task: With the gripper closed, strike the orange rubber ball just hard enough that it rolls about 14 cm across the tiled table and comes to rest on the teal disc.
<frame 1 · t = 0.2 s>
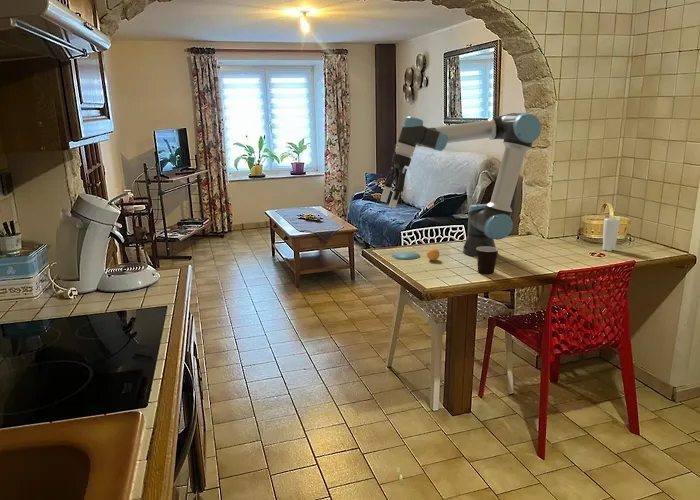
hand: (387, 204, 219), 28 cm above the counter, tool tilted 20°, fingers open, 13 cm apart
white tall block: (608, 250, 248), on the counter
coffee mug: (487, 271, 219), on the counter
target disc: (405, 255, 244), on the counter
ball: (433, 254, 236), on the counter
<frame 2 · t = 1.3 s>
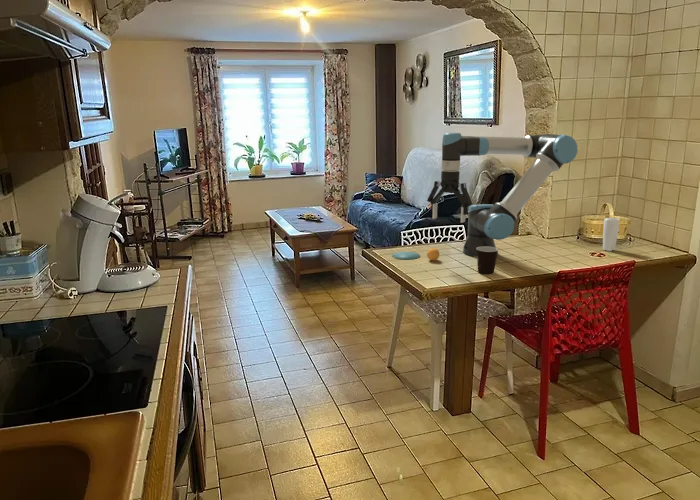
hand: (448, 220, 225), 19 cm above the counter, tool pointing down, fingers open, 13 cm apart
nothing on the counter moved.
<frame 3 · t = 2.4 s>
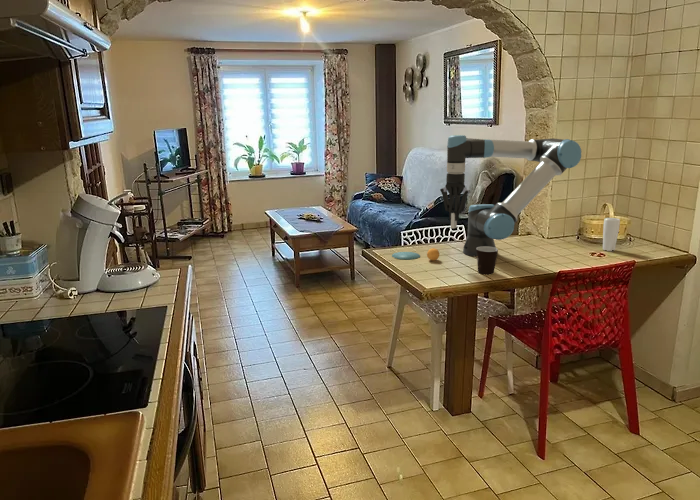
hand: (453, 227, 227), 16 cm above the counter, tool pointing down, fingers closed
nothing on the counter moved.
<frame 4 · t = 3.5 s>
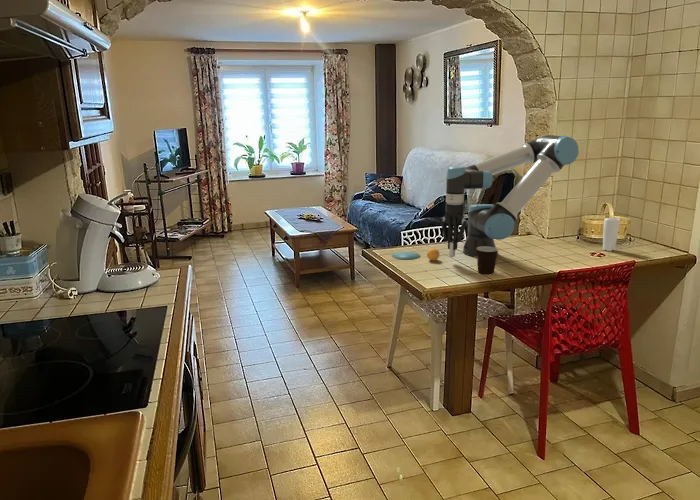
hand: (452, 256, 230), 3 cm above the counter, tool pointing down, fingers closed
nothing on the counter moved.
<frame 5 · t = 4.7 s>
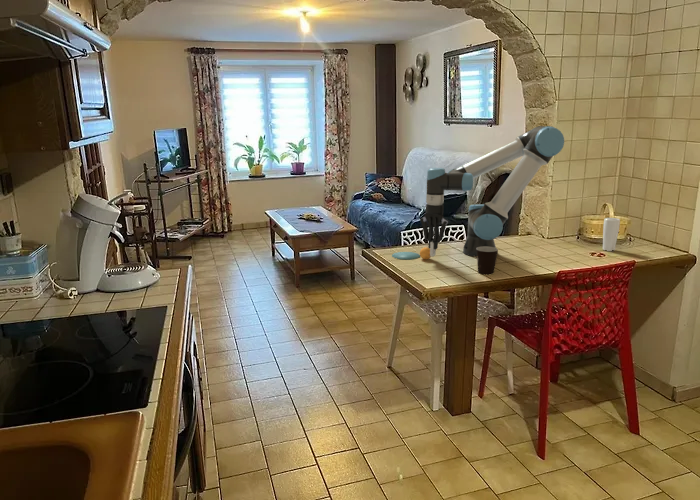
hand: (432, 255, 235), 2 cm above the counter, tool pointing down, fingers closed
ball: (425, 253, 237), on the counter
everything else where it was.
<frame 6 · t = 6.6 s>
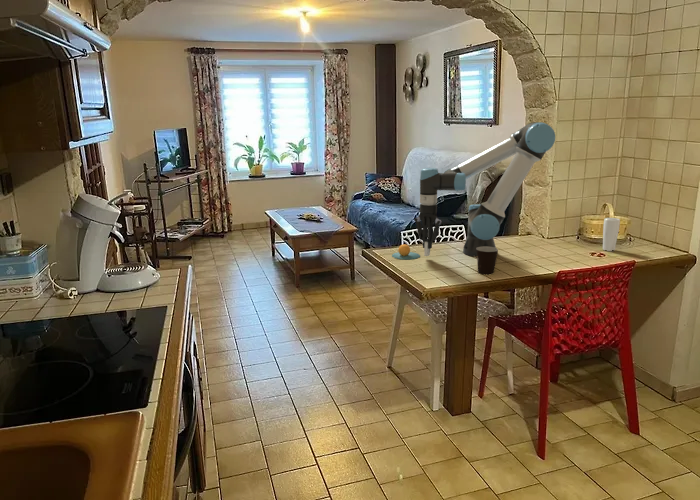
hand: (427, 255, 237), 2 cm above the counter, tool pointing down, fingers closed
ball: (404, 250, 244), on the counter
everything else where it was.
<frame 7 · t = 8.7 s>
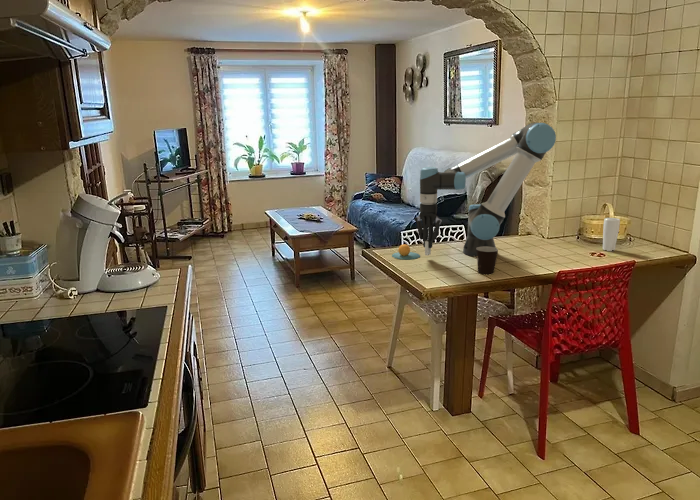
hand: (427, 254, 237), 2 cm above the counter, tool pointing down, fingers closed
nothing on the counter moved.
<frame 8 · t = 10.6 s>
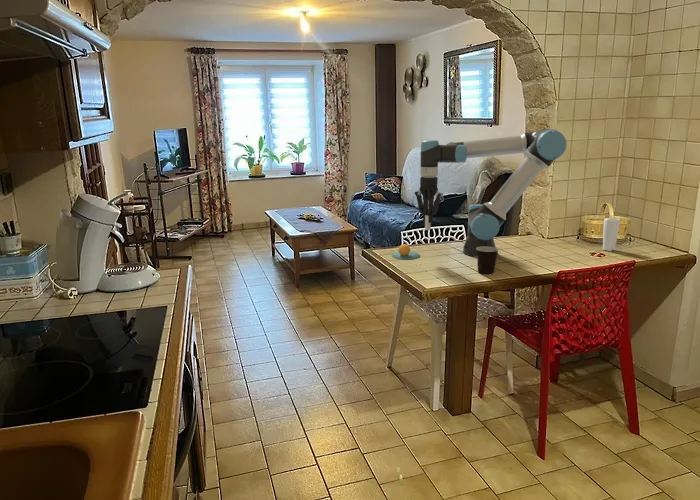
hand: (427, 229, 234), 14 cm above the counter, tool pointing down, fingers closed
nothing on the counter moved.
at the end: ball 0.8 cm from the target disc (horizontally); ball at rest at the end (0.0 cm/s); ball moved 14.7 cm from its start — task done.
